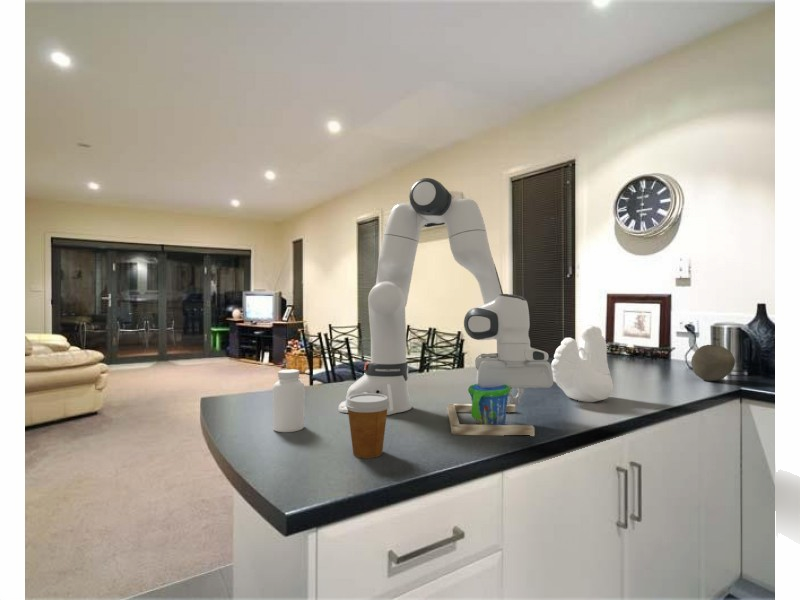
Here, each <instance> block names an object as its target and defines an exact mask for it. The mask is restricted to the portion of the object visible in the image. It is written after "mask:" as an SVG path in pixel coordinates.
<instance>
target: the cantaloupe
mask: <svg viewBox="0 0 800 600" xmlns="http://www.w3.org/2000/svg"><path fill="white" fill-rule="evenodd" d="M690 362H691V364H690V365H691V367H692V371H693V373H694V374H695V375H696V377H698V378H699V379H702V380H704V381H706V382H716V381H720V380H722V379H724V378H726V377H727V376H728V375H729V374H731V373H732V371H733V370H734V368H735V365H736V359H735V357H734V354H733V353H732V352H731V351H730V350H729V349H727V348H726V347H724V346H722V345H717V344H705V345H702V346H700V347H699V348H697V349H696V350H695V352H694V353H693V355H692V357H691V361H690Z"/></svg>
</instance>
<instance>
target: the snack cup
mask: <svg viewBox="0 0 800 600" xmlns="http://www.w3.org/2000/svg"><path fill="white" fill-rule="evenodd" d="M467 390H468V394H469V395H470V398H471V404H472V409H471V412H470V414H471V417H472V418H473V419H475V421H476V425H506V420H507V413H506V411H507V404H508V398H509V396H508V394H509V392H510V387H509V386H508V385H503V386H499V387H494V388H480V387H479V386H478V385H477V383H476V384H471V385H470V386H469V387H468V389H467ZM510 393H511V392H510Z"/></svg>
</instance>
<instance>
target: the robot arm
mask: <svg viewBox="0 0 800 600" xmlns="http://www.w3.org/2000/svg"><path fill="white" fill-rule="evenodd" d="M408 197H409V203H408V202H402V203H398V204H395V205H394V206H393V207H392V209H391V211H390V213H389V216H388V219H387V221H386V224H385V228H384V232H383V237H382V242H381V245H380V250H379V251H380V252H379V256H378V259H377V262H378V263H377V271H376V272H377V273H376V280H375V285H374V286H373V287H372V288H371V290H370V291H369V293H368V297H367V301H368V303H367V304H368V320H369V333H370V361H366V362H365V363H364V365H363V367H364V369H363V371H364V372H363V373H364V374H363V375H362V376H360V378H358V379H357V380H356V381H355V382H353V383H352V384H351V385H350V386H349V387H348V390H347V392H346V395H345V400H343V401H342V402H339V405H338V408H337V409H338V411H339V412H340V413H344V414H345V413H346V414H347V413H348V409H347V407H346V403H347V400H348V397H350V396H352V395H357V394H381V395H385V396H387V398H388V402H389V403H390V404H389V406H388V408H387V416H391V415H393V414H396V413H397V414H398V413H402V412H407V411H409V410H411V409H412V408H413V406H412V404H411V400H410V394H409V387H408V379H409V365H408V361H407V326H406V323H407V322H406V307H407V304H408V298H409V293H410V288H411V282H412V277H413V270H414V265H415V260H416V255H417V250H418V245H419V240H420V235H421V231H422V229H423V227H426V228H430V227H436V226H437V227H438V226H443V225H444V226H445V227H446V230H447V235H448V237H447V238H448V241H449V247H450V251H451V254H452V257H453V258H454V261H455V262H456V263H457V264H459V265H460V266H461V267H463V268H464V269H466V270H467V271H468V272H470V274H471V275H473V276H474V277H475V279H476V281H477V282H478V286H479V289H480V293H481V298H482V301H483V304H482V305H479V306H476V307H474V308H473V307H472V308H471V309H470V310H468V311H467V313H466V314H465V315H464V319H463V328H464V330H465V332H466V334H467V335H468V337H469V338H471V339H473V340H476V341H490V340H496V352H494V353H493V352H492V353H491V352H490V353H480V354H479V355H478V356H476V358H475V360H474V362H475V368H476V384H477V385H478V386H479V387H480V388H494V387H499V386H503V385H508V386H509V387H510V392H509V394H508V398H509V404H514V405H520V404H521V398H522V396H523V394H524V392H525V389H527V388H528V389H529V388H530V389H531V388H532V389H539V388H541V389H542V388H543V389H544V388H548V389H549V388H551V387H552V386H553V385H554V381H553V372H552V367H551V363H550V362H549V361H548V360H549V354H548V352H546V351H544V350H540V349H539V348H536V347H531V339H530V336H529V331H530V324H531V323H530V311H529V305H528V301H527V300H526V298H525V297H524V296H521V295H518V294H512V293H511V294H509V293H504V292H503V288H502V285H501V281H500V278H499V274H498V270H497V268H496V264H495V261H494V258H493V254H492V252H491V248H490V243H489V239H488V234H487V229H486V224H485V221H484V217H483V214H482V212H481V209H480V207H479V204H478V203H477V202H476V201H474V200H473V199H470V198H459V199H454V198H453V196H452V194H451V193H450V191H449V190H448V189H447V188H446V187H445V186H444V185H443V184H442V182H440V181H438V180H436V179H435V178H430V177H424V178H420V179H419V180H417V181H415V183H413V185H412V186H411V188H410V191H409V196H408ZM512 389H516V390H517V391H518V392H517V394H516V396H513V395H512V394H511V393H512V391H513V390H512Z"/></svg>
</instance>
